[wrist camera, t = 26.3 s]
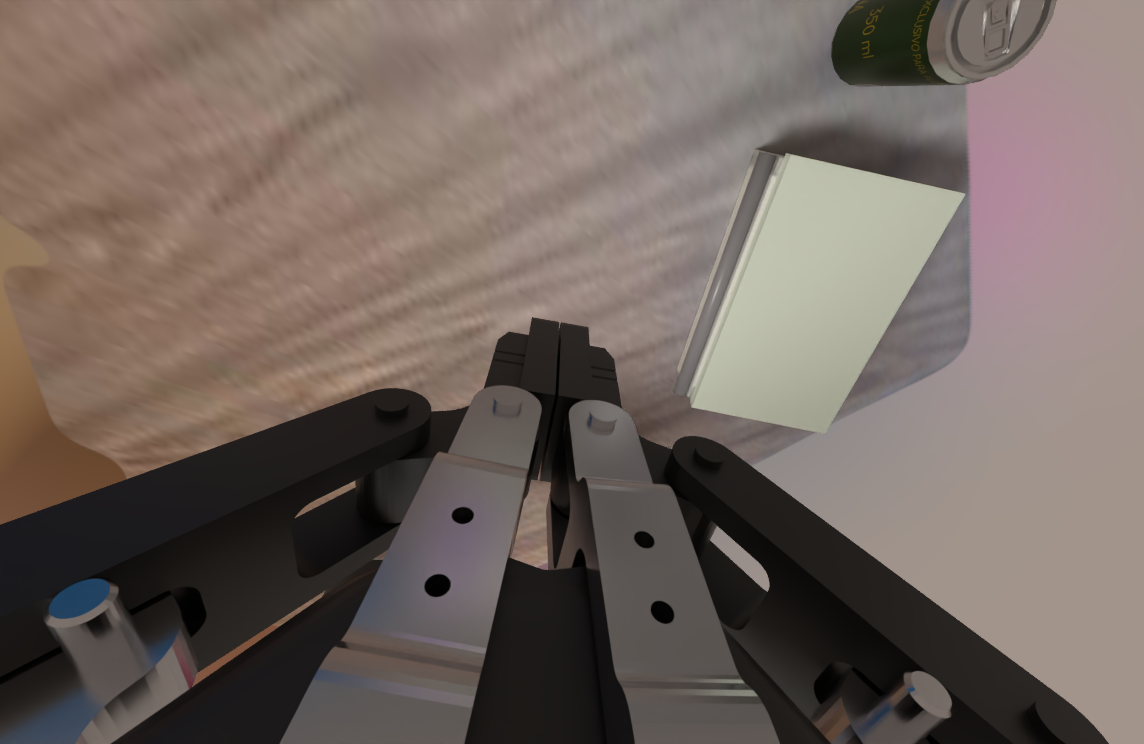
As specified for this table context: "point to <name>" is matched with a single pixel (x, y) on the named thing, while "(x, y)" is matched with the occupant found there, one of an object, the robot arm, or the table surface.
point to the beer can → (935, 40)
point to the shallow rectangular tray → (727, 267)
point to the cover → (818, 290)
